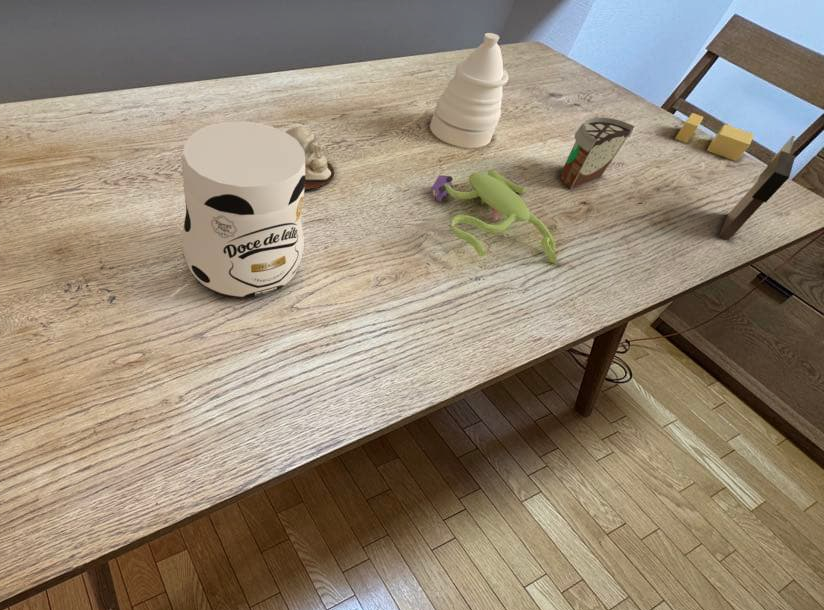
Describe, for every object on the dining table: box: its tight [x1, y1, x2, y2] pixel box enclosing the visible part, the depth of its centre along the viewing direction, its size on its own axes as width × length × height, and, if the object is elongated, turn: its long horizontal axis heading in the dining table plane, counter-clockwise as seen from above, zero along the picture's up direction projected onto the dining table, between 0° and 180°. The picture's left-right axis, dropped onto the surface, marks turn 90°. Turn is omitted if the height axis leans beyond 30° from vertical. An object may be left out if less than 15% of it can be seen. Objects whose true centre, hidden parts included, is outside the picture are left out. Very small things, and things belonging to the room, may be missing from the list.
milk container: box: [181, 120, 305, 299], centre depth 70 cm, size 17×17×18 cm
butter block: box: [706, 123, 755, 162], centre depth 110 cm, size 6×6×4 cm
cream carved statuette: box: [285, 126, 335, 190], centre depth 92 cm, size 12×10×10 cm
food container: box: [559, 116, 636, 190], centre depth 96 cm, size 12×6×10 cm, turn 123°
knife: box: [752, 135, 796, 203], centre depth 88 cm, size 17×2×4 cm, turn 143°
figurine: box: [431, 169, 558, 265], centre depth 87 cm, size 18×27×6 cm
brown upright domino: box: [718, 181, 765, 241], centre depth 91 cm, size 2×9×8 cm, turn 143°
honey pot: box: [429, 32, 510, 149], centre depth 100 cm, size 13×13×18 cm
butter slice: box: [674, 112, 704, 144], centre depth 112 cm, size 2×6×4 cm, turn 142°
